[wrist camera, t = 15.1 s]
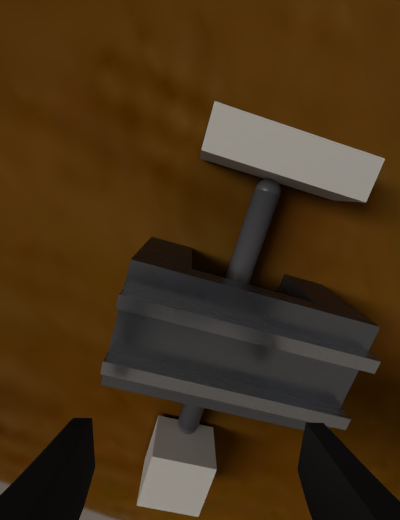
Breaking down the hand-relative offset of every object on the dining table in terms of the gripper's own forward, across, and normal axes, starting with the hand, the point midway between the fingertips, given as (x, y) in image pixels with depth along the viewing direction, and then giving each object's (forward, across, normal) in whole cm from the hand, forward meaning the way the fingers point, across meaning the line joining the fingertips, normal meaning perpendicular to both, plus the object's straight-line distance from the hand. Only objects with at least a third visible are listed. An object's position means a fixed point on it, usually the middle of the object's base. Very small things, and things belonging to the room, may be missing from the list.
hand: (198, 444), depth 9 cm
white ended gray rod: (+8, -1, +1) cm, 8 cm away
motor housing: (+9, -2, -1) cm, 9 cm away
